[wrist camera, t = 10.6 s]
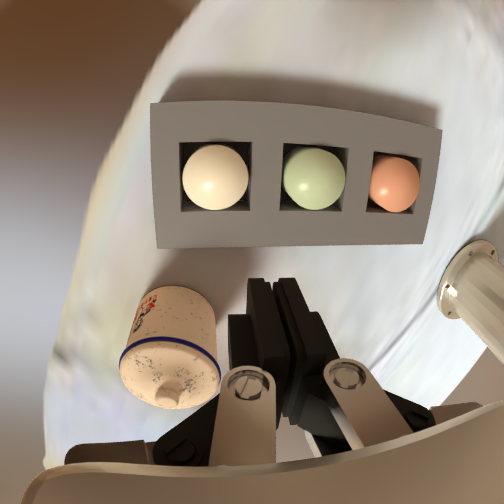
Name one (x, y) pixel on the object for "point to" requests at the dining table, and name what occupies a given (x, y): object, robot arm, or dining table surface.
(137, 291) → the dining table surface
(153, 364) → the teacup with lid
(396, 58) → the dining table surface
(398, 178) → the terracotta button
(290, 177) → the sage button
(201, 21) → the dining table surface
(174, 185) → the button panel
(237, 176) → the cream button
